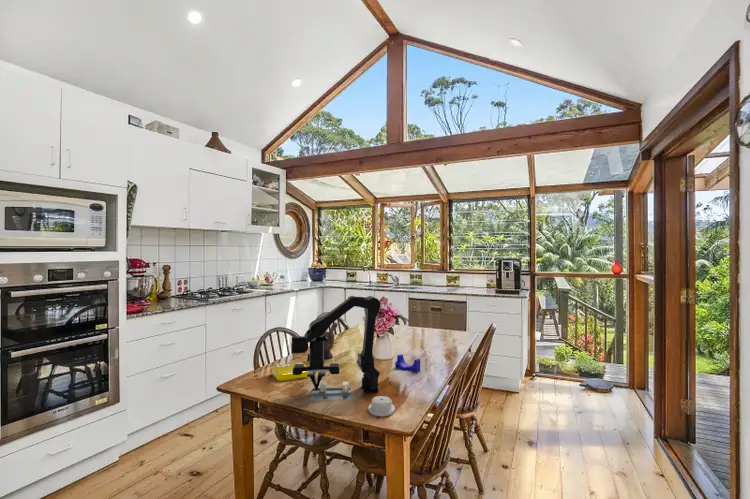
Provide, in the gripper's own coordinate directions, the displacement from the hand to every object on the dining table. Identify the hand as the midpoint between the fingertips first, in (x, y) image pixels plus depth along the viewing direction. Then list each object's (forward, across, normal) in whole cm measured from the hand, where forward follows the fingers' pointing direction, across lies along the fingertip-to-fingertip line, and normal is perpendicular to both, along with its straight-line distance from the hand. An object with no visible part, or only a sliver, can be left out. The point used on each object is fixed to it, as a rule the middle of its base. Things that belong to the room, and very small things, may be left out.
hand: (316, 389), depth 155 cm
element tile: (+3, +14, -22) cm, 27 cm away
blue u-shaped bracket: (+3, -42, -30) cm, 52 cm away
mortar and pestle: (+2, -2, -50) cm, 51 cm away
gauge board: (+2, -6, +2) cm, 7 cm away
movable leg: (+1, -3, +2) cm, 4 cm away
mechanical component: (+3, -26, +16) cm, 30 cm away
